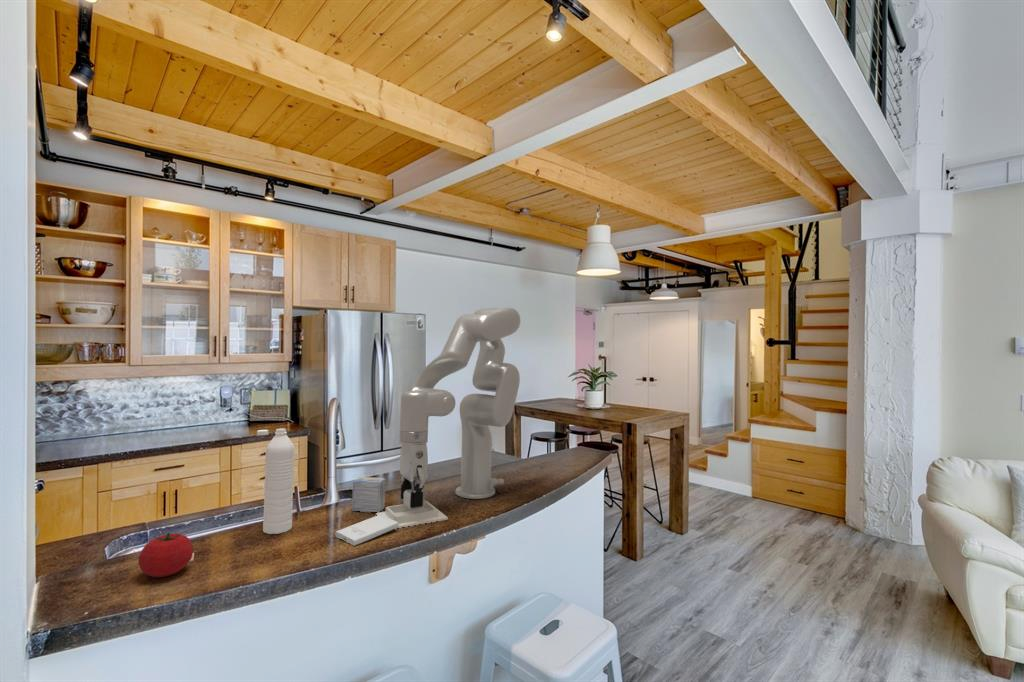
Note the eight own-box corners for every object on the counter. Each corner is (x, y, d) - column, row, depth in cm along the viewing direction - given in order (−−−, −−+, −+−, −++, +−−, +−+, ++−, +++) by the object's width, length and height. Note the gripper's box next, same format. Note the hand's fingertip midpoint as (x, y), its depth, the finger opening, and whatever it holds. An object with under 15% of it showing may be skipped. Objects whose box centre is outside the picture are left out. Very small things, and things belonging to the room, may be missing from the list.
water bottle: (286, 522, 120) (289, 425, 121) (296, 529, 116) (299, 429, 116) (249, 531, 114) (252, 429, 114) (258, 539, 110) (261, 432, 110)
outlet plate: (431, 506, 135) (431, 497, 136) (447, 519, 125) (447, 510, 125) (375, 515, 127) (376, 506, 127) (388, 530, 117) (389, 520, 117)
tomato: (197, 560, 98) (198, 522, 98) (186, 580, 90) (188, 538, 90) (146, 567, 95) (147, 527, 95) (130, 588, 87) (132, 544, 87)
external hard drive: (398, 528, 117) (354, 546, 107) (379, 520, 122) (335, 537, 112) (398, 522, 117) (354, 539, 107) (379, 514, 122) (335, 530, 112)
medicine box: (385, 508, 133) (385, 477, 133) (379, 513, 128) (380, 482, 129) (358, 506, 134) (359, 476, 134) (351, 512, 129) (352, 480, 129)
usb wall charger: (409, 510, 122) (410, 494, 122) (399, 502, 128) (400, 488, 128) (423, 507, 124) (424, 492, 125) (413, 500, 130) (413, 486, 130)
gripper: (439, 441, 121) (436, 510, 121) (415, 430, 136) (413, 492, 135) (411, 443, 117) (408, 514, 117) (390, 432, 132) (388, 495, 132)
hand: (411, 502), depth 126 cm, fingers closed on usb wall charger, 7 cm apart
